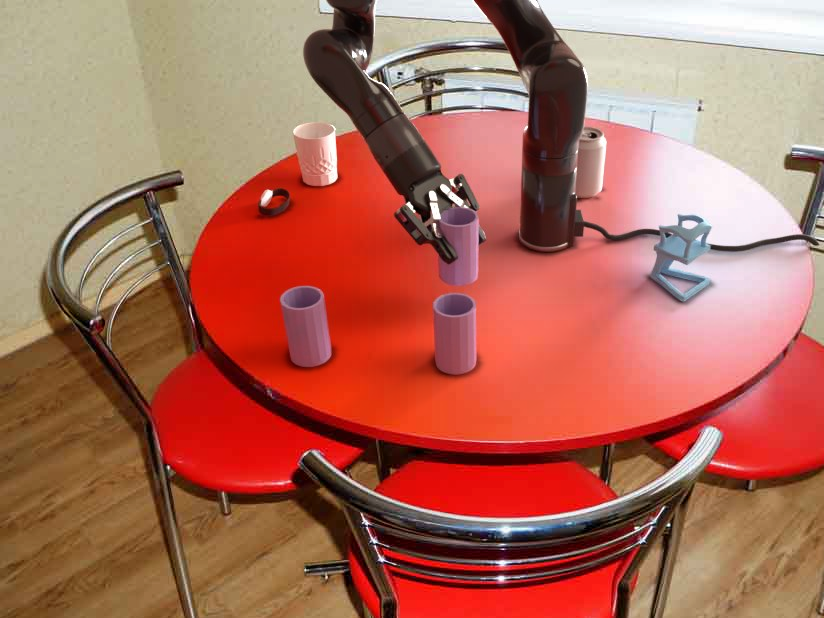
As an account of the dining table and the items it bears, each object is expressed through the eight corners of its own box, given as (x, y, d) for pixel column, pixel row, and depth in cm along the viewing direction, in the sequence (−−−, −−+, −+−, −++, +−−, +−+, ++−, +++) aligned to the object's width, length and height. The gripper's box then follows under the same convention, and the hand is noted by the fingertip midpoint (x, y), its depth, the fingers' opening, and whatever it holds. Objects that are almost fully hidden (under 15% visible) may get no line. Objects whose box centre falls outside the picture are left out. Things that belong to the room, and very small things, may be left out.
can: (603, 200, 162) (609, 140, 154) (563, 199, 162) (567, 140, 154) (600, 182, 168) (605, 124, 160) (562, 181, 168) (566, 123, 160)
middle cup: (477, 264, 131) (477, 206, 125) (478, 285, 127) (479, 226, 120) (439, 265, 131) (437, 206, 125) (439, 286, 126) (437, 226, 120)
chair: (668, 264, 144) (678, 200, 137) (710, 283, 140) (723, 218, 132) (641, 282, 140) (650, 217, 132) (683, 302, 135) (695, 236, 128)
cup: (475, 348, 125) (475, 292, 119) (477, 374, 121) (476, 316, 115) (435, 350, 125) (432, 293, 119) (435, 375, 120) (432, 317, 114)
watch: (276, 197, 161) (273, 179, 159) (297, 202, 160) (294, 184, 158) (252, 215, 156) (249, 197, 153) (274, 220, 154) (271, 202, 152)
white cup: (306, 191, 163) (299, 141, 157) (294, 174, 169) (287, 126, 162) (346, 183, 166) (340, 134, 160) (332, 167, 172) (327, 119, 165)
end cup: (333, 342, 126) (325, 285, 120) (329, 366, 122) (321, 309, 115) (293, 343, 126) (283, 286, 120) (287, 367, 121) (277, 310, 115)
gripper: (381, 159, 115) (450, 263, 118) (448, 126, 125) (511, 223, 127) (356, 183, 121) (422, 282, 123) (422, 150, 130) (483, 242, 132)
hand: (467, 252), depth 125 cm, fingers closed on middle cup, 6 cm apart
